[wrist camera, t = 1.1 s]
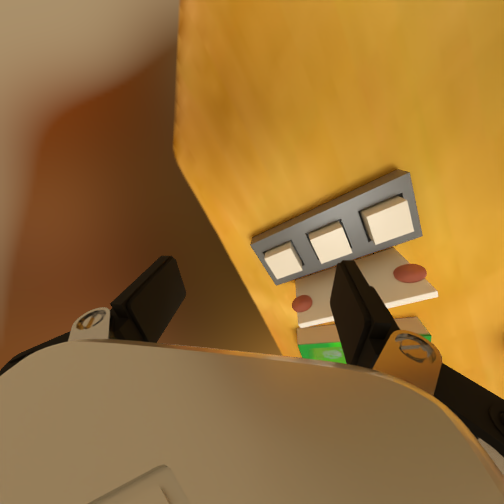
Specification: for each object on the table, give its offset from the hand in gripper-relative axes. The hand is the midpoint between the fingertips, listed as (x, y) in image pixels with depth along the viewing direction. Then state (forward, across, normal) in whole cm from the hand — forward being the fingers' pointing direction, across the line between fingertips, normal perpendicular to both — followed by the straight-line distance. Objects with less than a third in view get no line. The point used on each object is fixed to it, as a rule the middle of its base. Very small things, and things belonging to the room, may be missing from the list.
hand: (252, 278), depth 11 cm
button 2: (+21, -2, +11) cm, 24 cm away
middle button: (+21, -9, +7) cm, 24 cm away
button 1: (+21, -16, +4) cm, 27 cm away
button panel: (+23, -10, +9) cm, 26 cm away
